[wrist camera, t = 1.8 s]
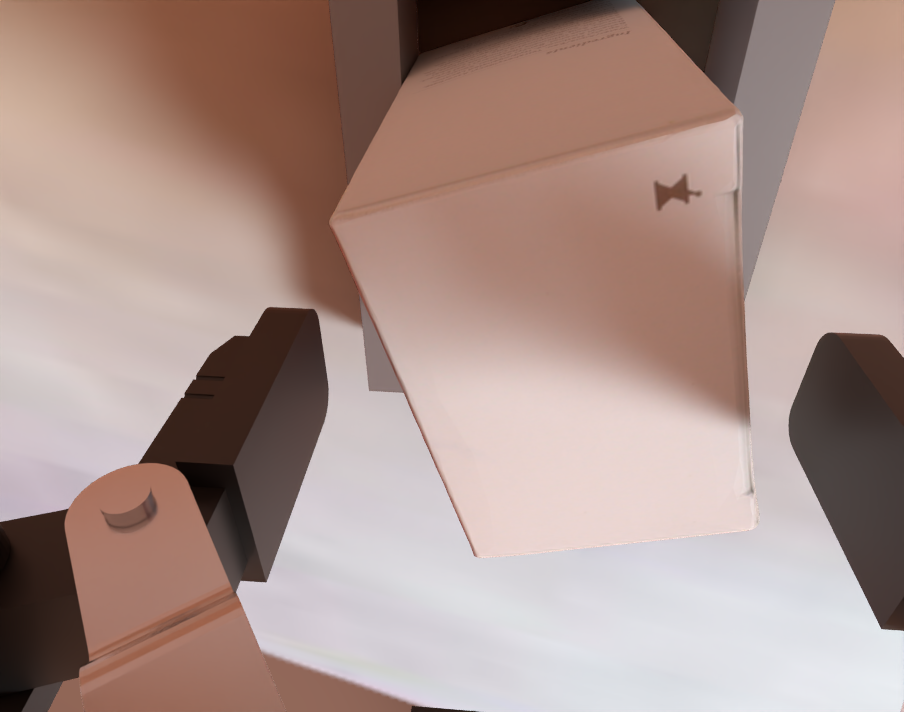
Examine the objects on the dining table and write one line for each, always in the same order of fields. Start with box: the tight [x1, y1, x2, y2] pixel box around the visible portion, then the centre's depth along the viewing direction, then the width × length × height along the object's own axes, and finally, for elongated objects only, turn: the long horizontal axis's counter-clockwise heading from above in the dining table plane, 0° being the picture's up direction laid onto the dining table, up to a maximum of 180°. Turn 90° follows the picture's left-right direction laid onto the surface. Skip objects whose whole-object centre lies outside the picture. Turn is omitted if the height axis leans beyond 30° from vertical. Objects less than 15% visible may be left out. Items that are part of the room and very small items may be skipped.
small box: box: [329, 0, 759, 558], centre depth 15 cm, size 8×6×10 cm
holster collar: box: [329, 0, 835, 393], centre depth 18 cm, size 10×12×3 cm
